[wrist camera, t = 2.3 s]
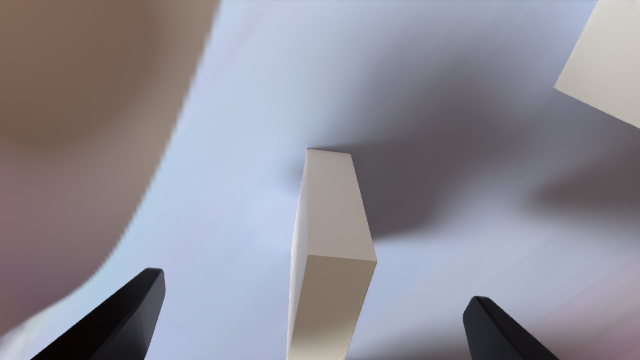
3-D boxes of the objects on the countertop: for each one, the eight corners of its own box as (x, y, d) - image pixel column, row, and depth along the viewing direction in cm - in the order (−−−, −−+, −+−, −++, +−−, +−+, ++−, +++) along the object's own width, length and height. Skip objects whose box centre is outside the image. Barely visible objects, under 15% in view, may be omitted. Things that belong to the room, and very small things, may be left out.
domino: (350, 153, 12) (377, 261, 8) (328, 248, 15) (339, 373, 10) (306, 148, 12) (307, 254, 8) (292, 244, 15) (285, 371, 10)
